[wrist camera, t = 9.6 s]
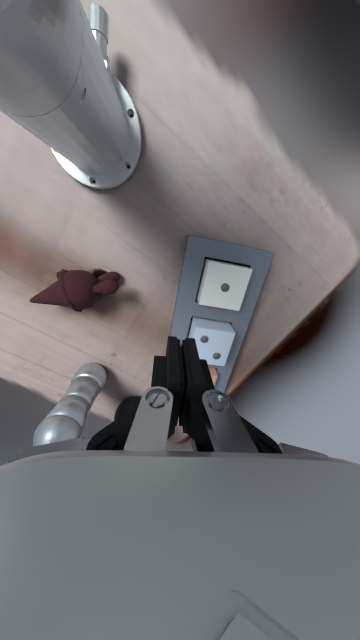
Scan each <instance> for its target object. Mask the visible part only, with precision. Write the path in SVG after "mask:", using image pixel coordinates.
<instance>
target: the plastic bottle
mask: <svg viewBox="0 0 360 640" xmlns="http://www.w3.org/2000/svg"><path fill="white" fill-rule="evenodd" d="M106 379H107V374H106V371H105V369H104V368H103V367H102V366H100V365H98V364H94V363H90V364H86V365H83V366H82V367H80V368H79V369H78V370H77V371H76V373H75V374H74V376H73V379H72V381H71V384H70V385H69V387H68V389H67V391H66V393H65V394H64V396H63V397H62V398H61V400H60V401H59V402H58V404H57V405H56V406H55V408H54V409H53V410H52V411H51V412H50V413H49V414H48V415H47V416H46V417H45V419H44V420H43V421H42V422H41V423H40V425H39V426H38V427H37V429H36V432H35V434H34V441H33V446H38V445H43V444H49V443H54V442H59V441H65V440H70V439H75V438H80V437H81V434H82V431H83V428H84V424H85V421H86V418H87V416H88V413H89V411H90V408H91V406H92V404H93V402H94V400H95V399H96V397H97V395H98V394H99V393H100V391H101V390H102V389H103V387H104V386H105V383H106Z"/></svg>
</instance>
